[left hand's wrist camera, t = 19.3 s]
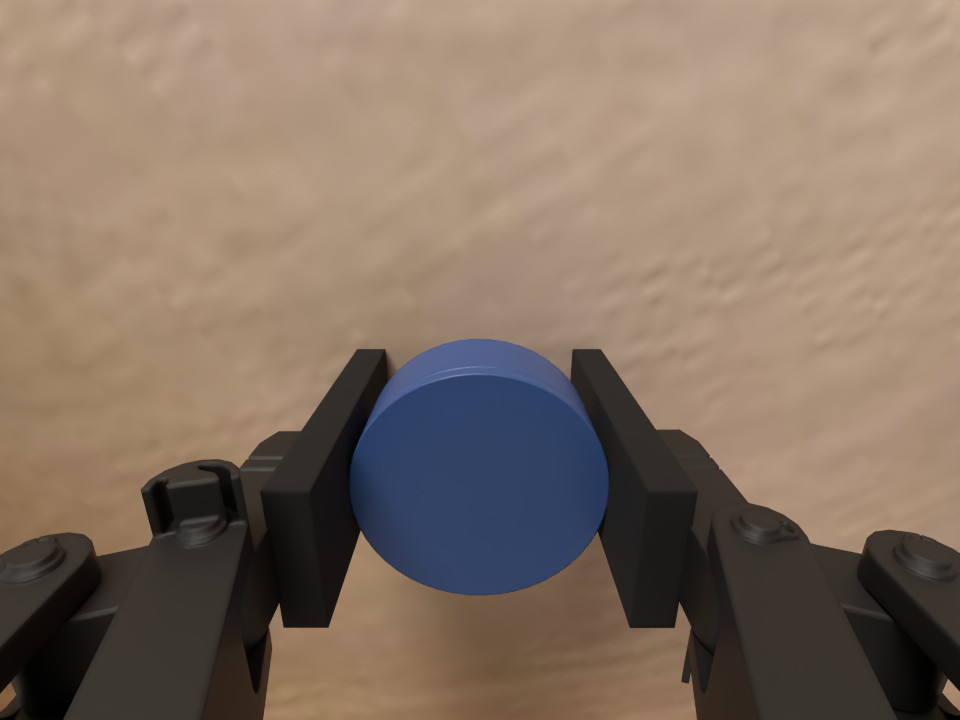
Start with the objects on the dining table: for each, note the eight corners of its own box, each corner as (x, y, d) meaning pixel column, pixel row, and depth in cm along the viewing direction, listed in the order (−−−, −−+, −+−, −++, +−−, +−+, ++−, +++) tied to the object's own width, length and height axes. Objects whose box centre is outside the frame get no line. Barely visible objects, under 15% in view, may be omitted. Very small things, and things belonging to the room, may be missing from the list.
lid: (450, 292, 11) (443, 319, 9) (635, 419, 12) (664, 467, 10) (329, 464, 12) (301, 520, 10) (503, 564, 13) (507, 631, 11)
